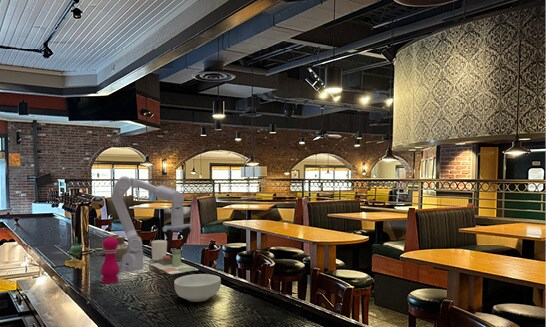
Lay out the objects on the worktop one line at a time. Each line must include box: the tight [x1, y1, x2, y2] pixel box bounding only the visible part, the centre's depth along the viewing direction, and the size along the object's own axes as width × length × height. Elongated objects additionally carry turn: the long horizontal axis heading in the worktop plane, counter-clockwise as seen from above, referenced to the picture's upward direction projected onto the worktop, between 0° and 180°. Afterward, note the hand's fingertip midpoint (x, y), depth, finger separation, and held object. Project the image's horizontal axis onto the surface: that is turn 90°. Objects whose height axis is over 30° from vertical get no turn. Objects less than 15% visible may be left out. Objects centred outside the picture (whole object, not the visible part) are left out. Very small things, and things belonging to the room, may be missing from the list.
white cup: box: [150, 239, 168, 261], centre depth 212 cm, size 8×8×10 cm
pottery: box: [101, 234, 128, 262], centre depth 219 cm, size 11×25×12 cm, turn 35°
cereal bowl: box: [173, 273, 222, 303], centre depth 151 cm, size 17×17×7 cm
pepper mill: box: [100, 233, 120, 284], centre depth 172 cm, size 7×7×20 cm
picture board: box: [150, 257, 199, 275], centre depth 195 cm, size 24×14×3 cm, turn 38°
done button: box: [163, 255, 171, 261], centre depth 202 cm, size 4×4×2 cm
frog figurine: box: [64, 236, 87, 269], centre depth 200 cm, size 10×18×15 cm, turn 35°
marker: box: [171, 248, 182, 267], centre depth 197 cm, size 4×4×8 cm
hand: (177, 244), depth 198 cm, fingers open, 7 cm apart
